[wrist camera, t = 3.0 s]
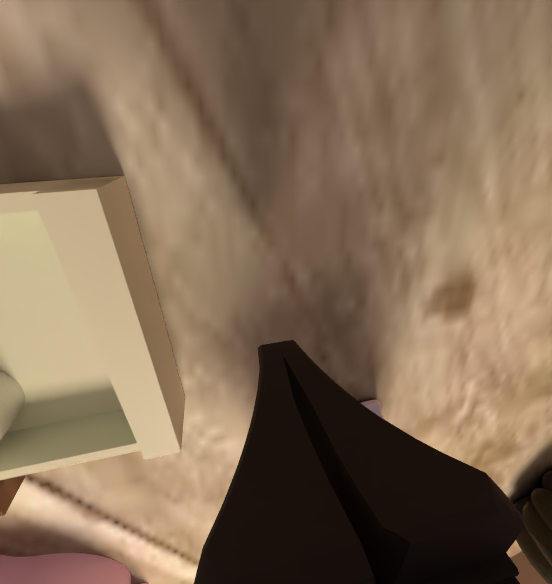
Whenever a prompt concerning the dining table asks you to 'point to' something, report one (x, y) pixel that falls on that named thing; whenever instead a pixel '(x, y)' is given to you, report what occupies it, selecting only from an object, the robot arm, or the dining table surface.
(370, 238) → the dining table surface
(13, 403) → the pale pink cylinder
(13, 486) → the rack
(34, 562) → the clip
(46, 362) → the tray
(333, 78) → the dining table surface
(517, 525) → the robot arm
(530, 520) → the squash
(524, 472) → the dining table surface
